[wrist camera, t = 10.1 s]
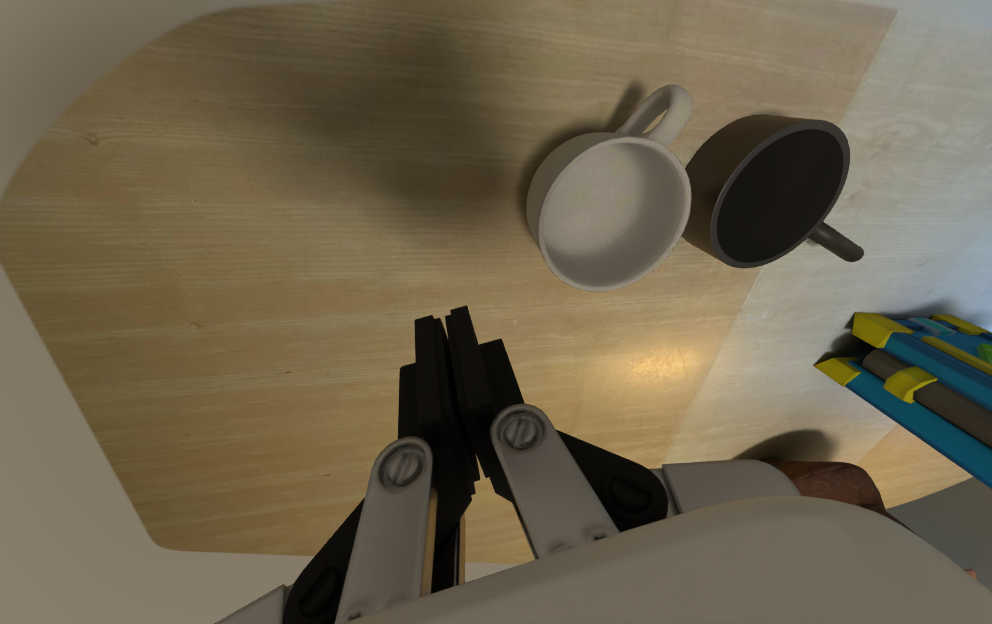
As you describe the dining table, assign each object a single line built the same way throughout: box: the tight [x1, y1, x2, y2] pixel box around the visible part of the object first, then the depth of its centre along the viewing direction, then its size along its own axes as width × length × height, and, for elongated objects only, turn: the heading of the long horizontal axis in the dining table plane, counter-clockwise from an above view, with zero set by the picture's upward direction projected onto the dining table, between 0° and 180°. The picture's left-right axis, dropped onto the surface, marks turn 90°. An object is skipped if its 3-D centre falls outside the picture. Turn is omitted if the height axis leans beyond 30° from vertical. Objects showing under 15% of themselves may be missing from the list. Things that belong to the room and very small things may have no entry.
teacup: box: [526, 85, 693, 292], centre depth 26 cm, size 14×11×8 cm
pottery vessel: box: [762, 458, 977, 580], centre depth 55 cm, size 26×26×30 cm
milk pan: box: [681, 115, 864, 268], centre depth 32 cm, size 12×21×5 cm, turn 65°
